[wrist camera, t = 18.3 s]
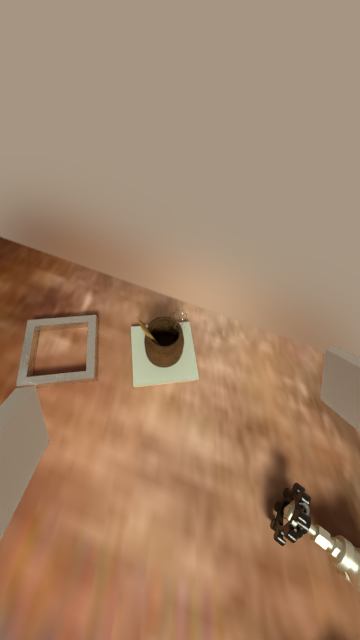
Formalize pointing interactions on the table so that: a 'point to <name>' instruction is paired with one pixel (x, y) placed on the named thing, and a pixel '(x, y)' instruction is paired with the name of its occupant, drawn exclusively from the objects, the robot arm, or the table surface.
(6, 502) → the robot arm
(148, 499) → the table surface
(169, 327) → the utensil holder
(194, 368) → the green tile
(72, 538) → the table surface
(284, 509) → the valve
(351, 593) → the table surface
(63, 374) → the grey square frame
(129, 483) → the table surface
